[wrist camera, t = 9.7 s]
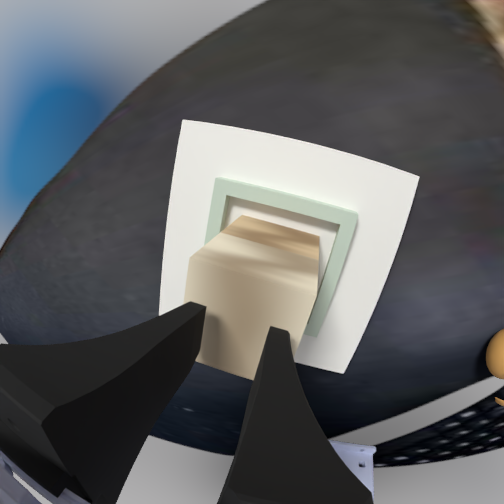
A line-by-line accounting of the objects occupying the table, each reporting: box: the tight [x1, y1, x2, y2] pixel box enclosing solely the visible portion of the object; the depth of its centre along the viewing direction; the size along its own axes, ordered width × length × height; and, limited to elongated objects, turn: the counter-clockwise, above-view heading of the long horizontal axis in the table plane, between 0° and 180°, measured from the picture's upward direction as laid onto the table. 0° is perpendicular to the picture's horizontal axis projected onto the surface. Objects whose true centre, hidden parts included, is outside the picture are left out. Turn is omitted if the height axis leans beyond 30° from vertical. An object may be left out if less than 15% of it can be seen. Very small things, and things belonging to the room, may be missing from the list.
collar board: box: [159, 120, 419, 374], centre depth 18 cm, size 14×14×2 cm
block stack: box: [183, 215, 320, 380], centre depth 15 cm, size 5×5×8 cm
